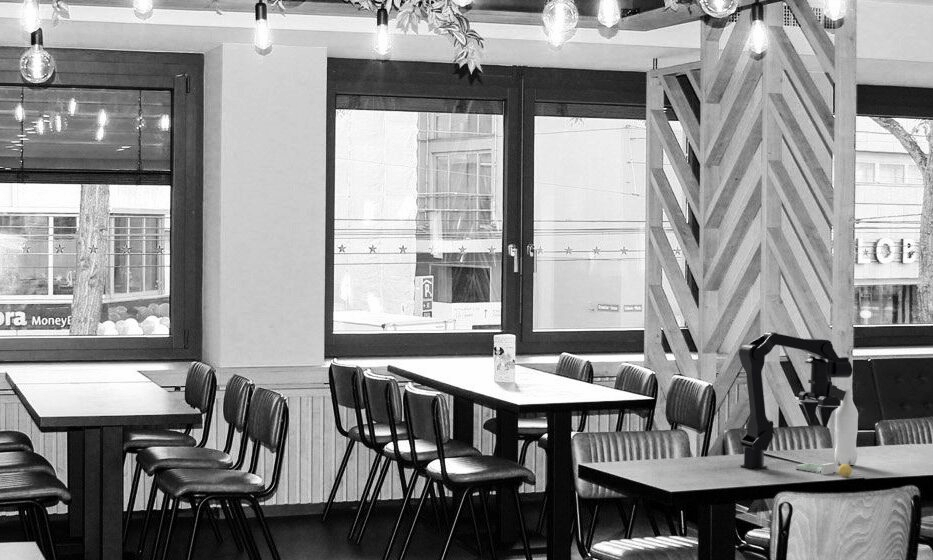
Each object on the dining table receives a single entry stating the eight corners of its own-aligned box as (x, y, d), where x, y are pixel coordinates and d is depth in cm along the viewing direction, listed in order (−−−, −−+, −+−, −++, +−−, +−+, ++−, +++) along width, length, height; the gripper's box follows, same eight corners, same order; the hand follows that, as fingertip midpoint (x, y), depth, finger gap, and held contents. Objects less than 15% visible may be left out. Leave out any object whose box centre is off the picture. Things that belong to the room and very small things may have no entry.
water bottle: (858, 467, 383) (860, 390, 383) (835, 466, 384) (837, 389, 384) (855, 463, 390) (857, 388, 390) (833, 462, 391) (835, 387, 391)
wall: (824, 474, 366) (824, 465, 366) (821, 474, 367) (821, 464, 367) (835, 472, 371) (835, 463, 371) (832, 472, 372) (833, 462, 372)
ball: (847, 478, 360) (848, 465, 360) (835, 476, 363) (836, 463, 363) (854, 477, 363) (854, 464, 363) (842, 475, 366) (842, 462, 366)
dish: (816, 472, 369) (817, 468, 369) (795, 469, 375) (795, 465, 375) (829, 470, 374) (829, 466, 374) (808, 467, 380) (808, 463, 380)
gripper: (856, 380, 375) (855, 429, 375) (829, 375, 393) (828, 421, 393) (824, 379, 373) (822, 428, 373) (798, 374, 392) (797, 421, 392)
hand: (818, 425), depth 383 cm, fingers open, 9 cm apart
